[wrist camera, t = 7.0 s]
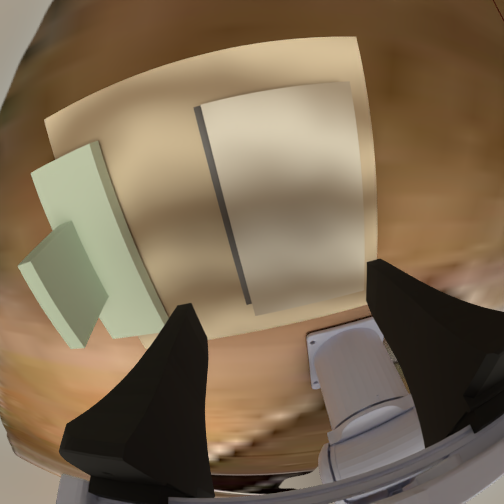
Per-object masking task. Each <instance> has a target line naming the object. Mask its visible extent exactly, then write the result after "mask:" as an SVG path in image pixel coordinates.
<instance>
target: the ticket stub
mask: <svg viewBox="0 0 504 504" xmlns="http://www.w3.org/2000/svg"><path fill="white" fill-rule="evenodd" d="M31 176H32V179H33V182H34V184H35V187H36V190H37V193H38V195H39V198H40V201H41V203H42V206H43V208H44V211H45V213H46V216H47V218H48V220H49V223H50V225H51V227H52V230H53V231H52V232H51V233H50V234H49V235H48V236H47V237H46V238H45V239H44V240H43V241H42V242H41V243H40V244H39V245H37V246H36V247H35V248H34V249H33V250H32V251H31V252H30V253H29V255H28V256H27V257H26V258H25V259H24V260H23V261H22V262H21V263H20V264H19V265H18V268H19V269H20V271H21V273H22V275H23V277H24V279H25V280H26V282H27V284H28V286H29V287H30V289H31V291H32V292H33V294H34V296H35V297H36V299H37V301H38V302H39V304H40V305H41V307H42V309H43V310H44V312H45V313H46V315H47V316H48V318H49V319H50V321H51V322H52V324H53V325H54V326H55V328H56V329H57V331H58V332H59V334H60V335H61V336H62V338H63V339H64V340H65V342H66V343H67V344H68V346H69V347H70V348H71V349H77V348H85V346H86V344H87V342H88V340H89V337H90V335H91V333H92V331H93V328H94V326H95V324H96V322H97V320H98V318H100V320H101V321H102V323H103V324H104V326H105V327H106V329H107V331H108V332H109V334H110V335H111V337H112V338H113V339H115V338H124V337H132V336H139V335H147V334H154V333H160V331H161V330H162V328H163V327H164V325H165V323H166V322H167V320H168V319H169V318H168V316H167V314H166V312H165V310H164V307H163V305H162V303H161V301H160V299H159V297H158V295H157V293H156V291H155V289H154V287H153V285H152V282H151V280H150V278H149V276H148V274H147V271H146V269H145V267H144V265H143V262H142V260H141V258H140V255H139V253H138V251H137V248H136V246H135V244H134V241H133V239H132V236H131V234H130V231H129V229H128V226H127V224H126V221H125V219H124V216H123V213H122V211H121V208H120V205H119V203H118V200H117V197H116V195H115V192H114V189H113V186H112V183H111V180H110V177H109V174H108V171H107V168H106V165H105V162H104V159H103V156H102V152H101V149H100V146H99V143H98V141H95V142H92V143H89V144H87V145H85V146H83V147H81V148H78V149H76V150H74V151H72V152H70V153H68V154H66V155H64V156H62V157H60V158H58V159H56V160H54V161H52V162H50V163H48V164H46V165H44V166H43V167H41V168H39V169H37V170H35V171H34V172H32V173H31Z"/></svg>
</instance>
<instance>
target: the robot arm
mask: <svg viewBox="0 0 504 504" xmlns="http://www.w3.org/2000/svg"><path fill="white" fill-rule="evenodd" d="M366 302H367V304H368V306H369V309H370V311H371V314H372V316H373V317H369V318H366V319H362V320H359V321H355V322H352V323H348V324H344V325H341V326H337V327H333V328H329V329H325V330H321V331H317V332H313V333H310V334H308V335H307V337H306V340H307V348H308V357H309V367H310V377H311V386H312V389H319V388H321V391H322V394H323V398H324V402H325V405H326V409H327V413H328V416H329V420H330V424H331V427H332V431H330V432H328V433H327V435H328V439H329V443H327V444H325V445H324V446H323V447H322V450H321V452H320V454H319V458H318V466H319V473H320V477H321V480H322V483H323V484H322V485H318V486H313V487H308V488H303V489H298V490H292V491H286V492H280V493H273V494H265V495H256V496H245V497H229V498H214V497H215V494H214V489H213V483H212V478H211V472H210V465H209V458H208V450H207V439H206V426H205V397H206V384H207V371H208V341H207V336H206V334H205V331H204V329H203V327H202V325H201V323H200V321H199V319H198V316H197V314H196V312H195V310H194V307H193V305H192V303H187V304H182V305H177V307H176V308H175V310H174V311H173V313H172V314H171V316H170V317H169V319H168V320H167V322H166V323H165V325H164V327H163V328H162V330H161V331H160V333H159V334H158V336H157V337H156V339H155V340H154V341H153V343H152V344H151V346H150V347H149V348H148V350H147V351H146V352H145V354H144V355H143V356H142V358H141V359H140V360H139V362H138V363H137V364H136V365H135V366H134V368H133V369H132V370H131V371H130V372H129V373H128V374H127V376H126V377H125V378H124V379H123V380H122V381H121V382H120V383H119V384H118V385H117V386H116V387H115V388H114V389H112V390H111V391H110V392H109V393H108V394H107V395H106V396H105V397H104V398H103V399H101V400H100V401H99V402H98V403H96V404H95V405H94V406H93V407H91V408H90V409H89V410H87V411H86V412H84V413H83V414H81V415H80V416H78V417H77V418H75V419H74V420H72V421H71V422H69V423H67V424H66V428H65V431H64V434H63V438H62V441H61V445H60V449H59V453H60V455H61V456H62V457H63V458H64V459H65V460H66V461H68V462H69V463H70V464H72V465H74V466H75V467H77V468H79V469H80V470H82V471H84V472H85V473H87V474H89V475H91V478H90V482H89V481H87V480H84V479H81V478H77V477H74V476H70V475H66V474H61V479H60V484H59V489H58V494H57V500H56V504H329V503H332V502H334V503H335V504H466V502H468V501H469V500H471V499H472V498H473V497H475V496H476V495H478V494H479V493H481V492H482V491H484V490H485V489H486V488H488V487H489V486H490V485H491V484H493V483H494V482H495V481H497V480H498V479H499V478H501V477H502V476H503V475H504V312H501V311H497V310H492V309H488V308H484V307H480V306H477V305H474V304H471V303H468V302H465V301H462V300H460V299H457V298H455V297H452V296H450V295H447V294H445V293H443V292H441V291H439V290H437V289H435V288H433V287H430V286H428V285H427V284H425V283H423V282H421V281H419V280H417V279H415V278H414V277H412V276H410V275H408V274H407V273H405V272H403V271H401V270H400V269H398V268H396V267H394V266H393V265H391V264H389V263H387V262H386V261H384V260H382V259H377V260H373V261H369V262H367V284H366ZM384 338H385V339H386V341H387V343H388V344H389V346H390V348H391V350H392V351H393V353H394V355H395V357H396V359H397V360H398V362H399V365H400V367H401V369H402V371H403V374H404V376H405V379H406V381H407V384H408V387H409V390H410V393H411V394H408V392H407V390H406V388H405V386H404V384H403V382H402V380H401V378H400V376H399V374H398V372H397V370H396V368H395V366H394V364H393V362H392V360H391V358H390V356H389V354H388V352H387V350H386V348H385V346H384V344H383V339H384ZM311 341H312V342H311Z"/></svg>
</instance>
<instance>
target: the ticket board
mask: <svg viewBox="0 0 504 504" xmlns="http://www.w3.org/2000/svg"><path fill="white" fill-rule="evenodd" d="M44 121H45V125H46V129H47V132H48V136H49V140H50V143H51V147H52V150H53V153H54V157H55V160H56V159H58V158H60V157H62V156H64V155H66V154H68V153H70V152H72V151H74V150H76V149H78V148H81V147H83V146H85V145H87V144H89V143H92V142H95V141H98V143H99V146H100V149H101V152H102V156H103V159H104V162H105V165H106V168H107V171H108V174H109V177H110V180H111V183H112V186H113V189H114V192H115V195H116V197H117V200H118V203H119V205H120V208H121V211H122V213H123V216H124V219H125V221H126V224H127V226H128V229H129V231H130V234H131V236H132V239H133V241H134V244H135V246H136V248H137V251H138V253H139V255H140V258H141V260H142V262H143V265H144V267H145V269H146V271H147V274H148V276H149V278H150V280H151V282H152V285H153V287H154V289H155V291H156V293H157V295H158V297H159V299H160V301H161V303H162V305H163V307H164V310H165V312H166V314H167V316H168V318H169V317H170V316H171V314H172V313H173V311H174V310H175V308H176V307H177V305H182V304H187V303H192V305H193V307H194V310H195V312H196V314H197V316H198V319H199V321H200V323H201V325H202V327H203V329H204V331H205V334H206V336H207V340H211V339H217V338H223V337H228V336H234V335H239V334H245V333H250V332H255V331H260V330H265V329H270V328H274V327H279V326H284V325H288V324H293V323H297V322H302V321H306V320H310V319H314V318H318V317H322V316H326V315H330V314H334V313H338V312H342V311H346V310H350V309H353V308H357V307H360V306H364V305H368V304H367V302H366V284H367V262H369V261H373V260H377V189H376V170H375V156H374V145H373V135H372V126H371V118H370V110H369V103H368V96H367V90H366V84H365V78H364V73H363V67H362V62H361V57H360V53H359V48H358V44H357V39H356V37H316V38H300V39H289V40H280V41H271V42H264V43H257V44H251V45H245V46H239V47H234V48H229V49H224V50H220V51H215V52H211V53H207V54H203V55H199V56H195V57H191V58H187V59H184V60H180V61H177V62H174V63H170V64H167V65H164V66H161V67H158V68H155V69H152V70H149V71H147V72H144V73H141V74H138V75H136V76H133V77H130V78H128V79H125V80H123V81H121V82H118V83H116V84H113V85H111V86H109V87H107V88H104V89H102V90H100V91H98V92H96V93H93V94H91V95H89V96H87V97H85V98H83V99H81V100H79V101H77V102H75V103H73V104H71V105H70V106H68V107H66V108H64V109H62V110H60V111H59V112H57V113H55V114H53V115H52V116H50V117H48V118H47V119H45V120H44ZM158 334H159V333H154V334H147V335H139V336H138V338H139V339H140V341H141V342H142V344H143V346H144V347H145V349H147V348H149V347H150V346H151V344H152V343H153V341H154V340H155V339H156V337H157V336H158Z"/></svg>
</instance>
